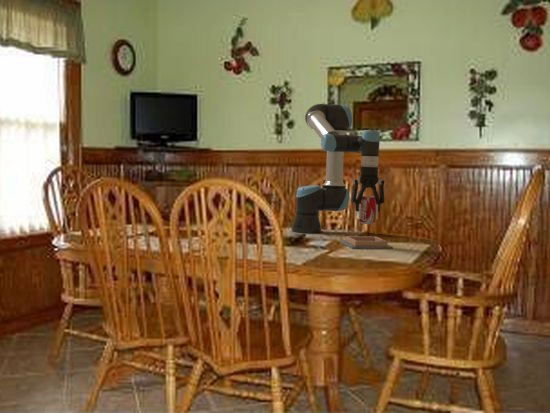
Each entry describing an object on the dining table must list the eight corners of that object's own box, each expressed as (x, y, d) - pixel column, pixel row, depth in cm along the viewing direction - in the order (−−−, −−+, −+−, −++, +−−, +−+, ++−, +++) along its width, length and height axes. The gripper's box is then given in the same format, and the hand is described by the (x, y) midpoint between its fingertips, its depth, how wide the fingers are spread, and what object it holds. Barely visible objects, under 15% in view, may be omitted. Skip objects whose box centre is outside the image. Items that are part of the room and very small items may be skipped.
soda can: (376, 224, 250) (377, 197, 249) (359, 224, 250) (361, 196, 249) (373, 222, 257) (375, 195, 256) (357, 222, 257) (359, 195, 256)
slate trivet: (340, 242, 262) (340, 235, 261) (377, 242, 265) (378, 236, 265) (352, 248, 244) (352, 241, 244) (392, 249, 247) (393, 242, 247)
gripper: (350, 165, 246) (347, 219, 248) (394, 167, 250) (391, 220, 251) (344, 165, 253) (342, 217, 255) (388, 166, 257) (385, 218, 259)
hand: (367, 218), depth 253 cm, fingers closed on soda can, 7 cm apart
